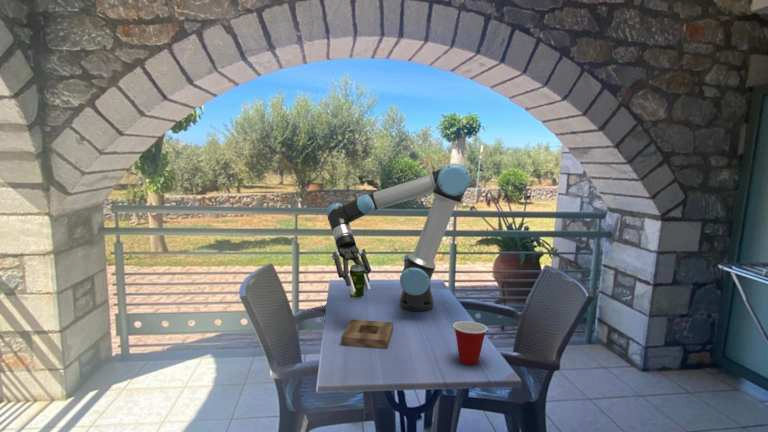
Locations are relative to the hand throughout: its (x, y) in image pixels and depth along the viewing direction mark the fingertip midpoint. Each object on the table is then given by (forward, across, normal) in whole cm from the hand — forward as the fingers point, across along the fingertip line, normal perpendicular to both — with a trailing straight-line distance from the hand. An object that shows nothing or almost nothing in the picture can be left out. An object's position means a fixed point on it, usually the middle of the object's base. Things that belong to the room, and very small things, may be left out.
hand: (361, 291), depth 154 cm
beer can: (0, 0, -5) cm, 5 cm away
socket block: (+15, 0, -6) cm, 16 cm away
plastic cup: (+36, -21, +16) cm, 45 cm away
